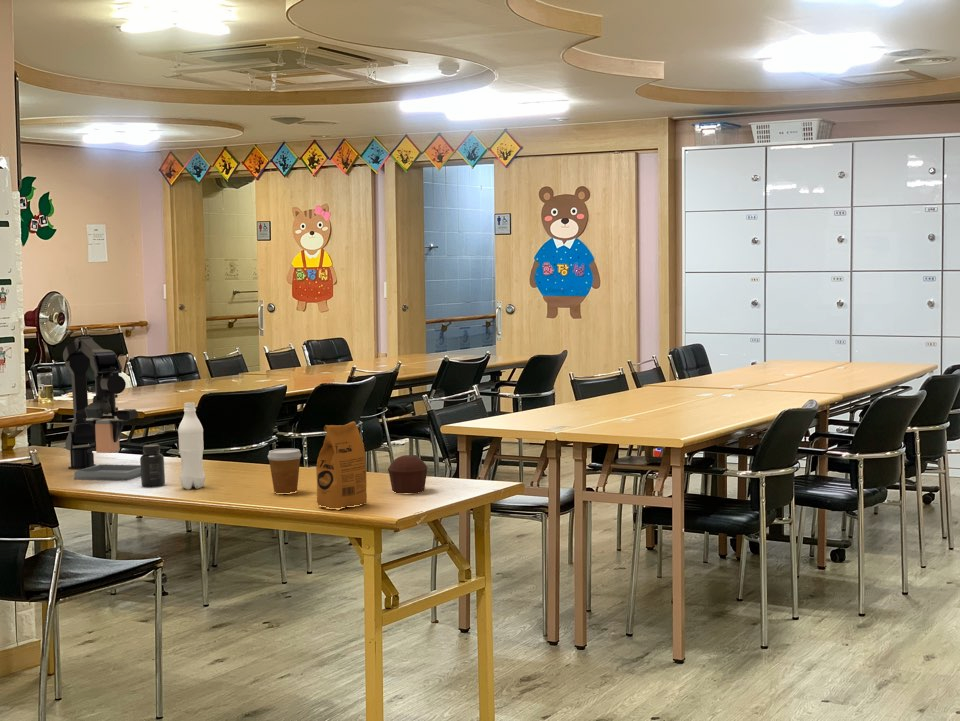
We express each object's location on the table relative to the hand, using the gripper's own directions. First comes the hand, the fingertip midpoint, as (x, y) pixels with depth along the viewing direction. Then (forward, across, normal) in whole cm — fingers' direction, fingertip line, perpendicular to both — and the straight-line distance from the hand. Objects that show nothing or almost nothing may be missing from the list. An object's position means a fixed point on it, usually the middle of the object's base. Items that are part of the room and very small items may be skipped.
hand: (107, 442), depth 366 cm
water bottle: (+11, +36, -14) cm, 40 cm away
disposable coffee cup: (+11, +67, -18) cm, 70 cm away
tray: (+11, 0, +2) cm, 11 cm away
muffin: (+11, +101, -11) cm, 102 cm away
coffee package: (+11, +90, -34) cm, 97 cm away
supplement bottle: (+11, +22, -12) cm, 27 cm away
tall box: (+3, 0, 0) cm, 3 cm away
